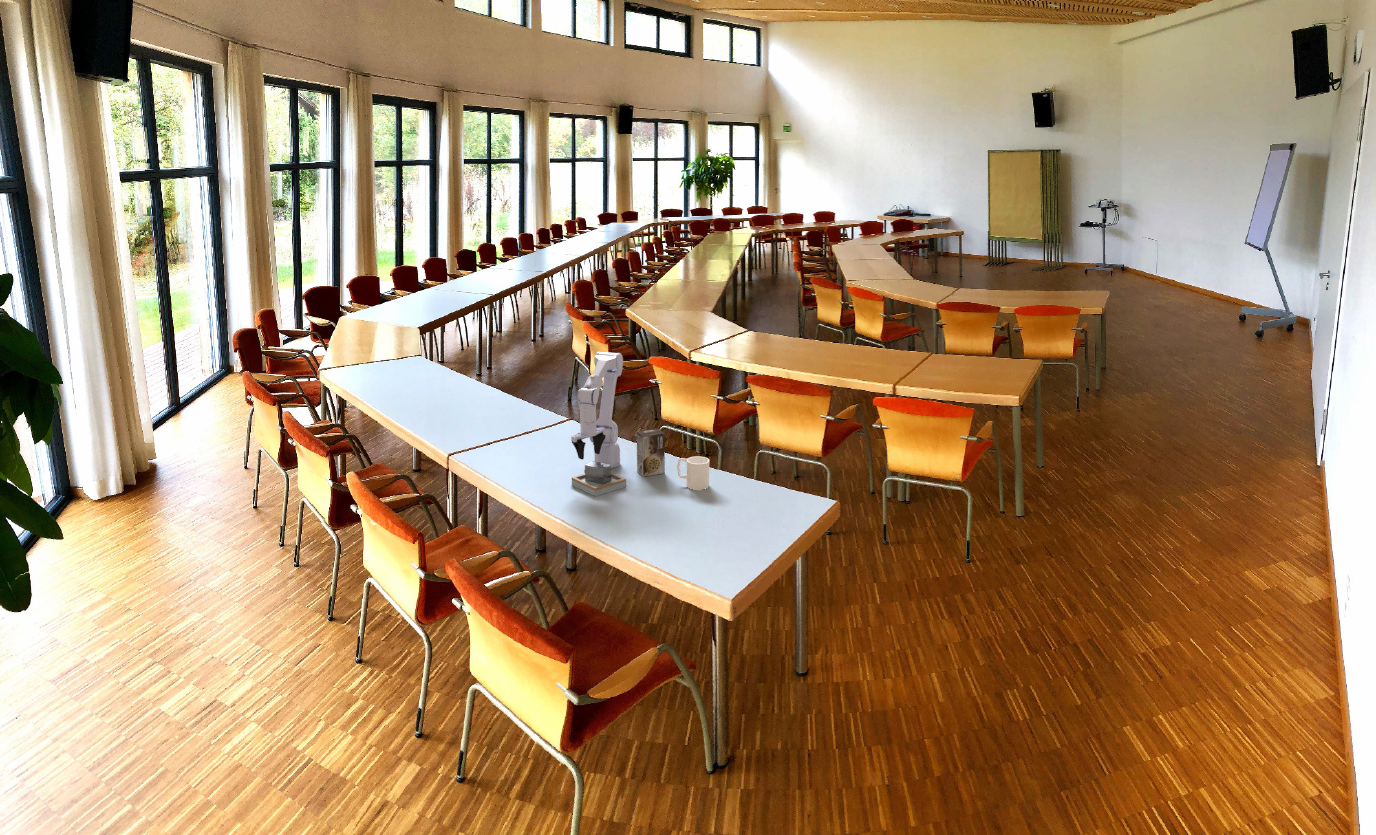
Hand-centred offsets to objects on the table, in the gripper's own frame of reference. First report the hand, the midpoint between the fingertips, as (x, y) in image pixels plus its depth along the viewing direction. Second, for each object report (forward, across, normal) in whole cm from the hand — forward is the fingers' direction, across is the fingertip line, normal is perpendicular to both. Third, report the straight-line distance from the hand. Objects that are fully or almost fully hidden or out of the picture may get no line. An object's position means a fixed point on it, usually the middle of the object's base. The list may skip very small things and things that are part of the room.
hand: (589, 456), depth 320 cm
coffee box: (+10, -22, +9) cm, 26 cm away
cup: (+10, -24, +29) cm, 39 cm away
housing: (+8, 0, +6) cm, 10 cm away
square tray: (+10, 0, +6) cm, 11 cm away
